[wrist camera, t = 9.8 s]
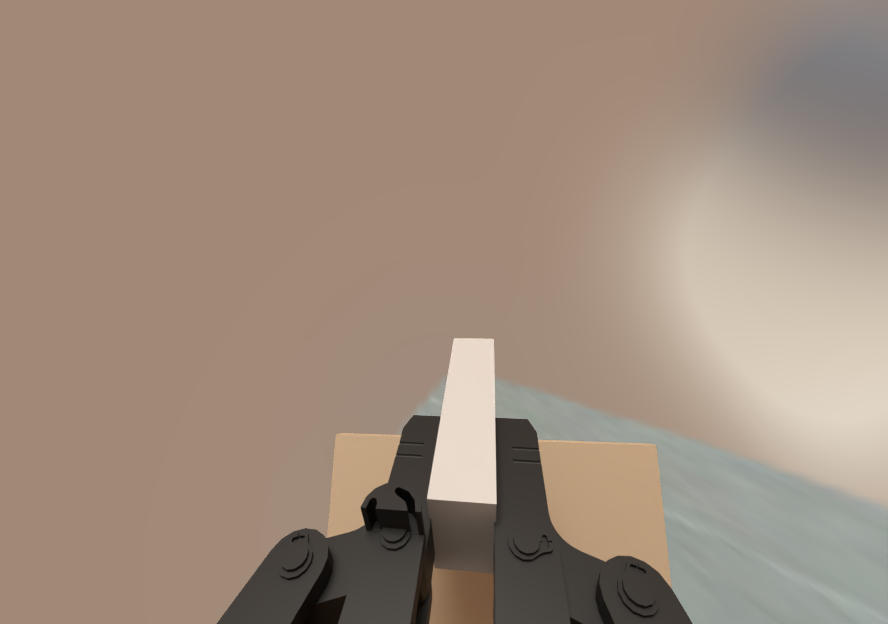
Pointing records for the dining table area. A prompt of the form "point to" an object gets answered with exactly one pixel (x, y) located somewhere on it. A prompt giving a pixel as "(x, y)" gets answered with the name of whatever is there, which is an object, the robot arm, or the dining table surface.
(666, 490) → the dining table surface
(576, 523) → the flap
